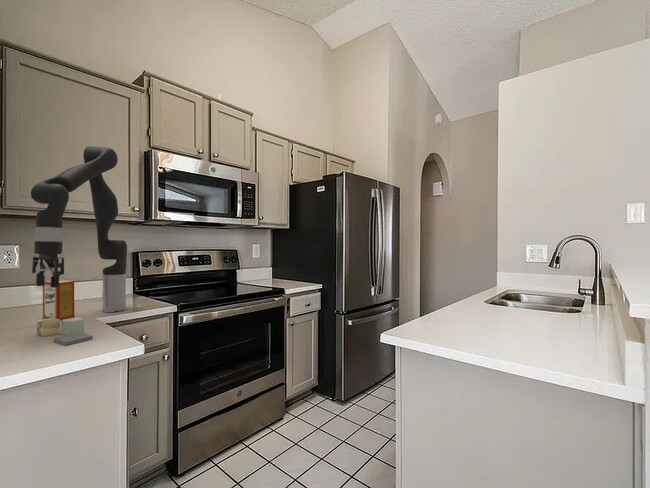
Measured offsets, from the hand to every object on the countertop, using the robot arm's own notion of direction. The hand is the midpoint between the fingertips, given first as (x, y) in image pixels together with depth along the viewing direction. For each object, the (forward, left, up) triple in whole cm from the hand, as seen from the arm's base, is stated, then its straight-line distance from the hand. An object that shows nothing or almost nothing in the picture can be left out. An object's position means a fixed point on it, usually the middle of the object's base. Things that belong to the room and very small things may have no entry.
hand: (47, 286), depth 115 cm
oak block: (-3, +1, -18) cm, 18 cm away
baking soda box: (-26, +13, -18) cm, 34 cm away
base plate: (+13, +2, -18) cm, 22 cm away
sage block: (+3, +6, -18) cm, 19 cm away
